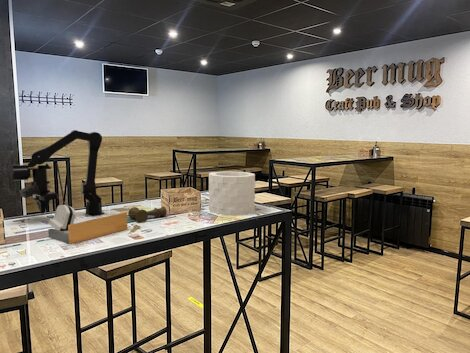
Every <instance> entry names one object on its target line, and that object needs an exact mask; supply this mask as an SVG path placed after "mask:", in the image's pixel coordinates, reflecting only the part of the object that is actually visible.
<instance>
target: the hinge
mask: <svg viewBox="0 0 470 353" xmlns="http://www.w3.org/2000/svg"><path fill="white" fill-rule="evenodd" d="M54 212H55V213H54V215H53V217H52V218H51V219H49V222H48V224H49V225H50V226H51V227H52V229H55V230H59V231H61V229H62V230H66V229H67V230H68V225H70V224H75V218H76V210H75V209H74V207H72V206H69V205H67V204H59V205H57V207H56V210H55V211H54Z"/></svg>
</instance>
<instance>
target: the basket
mask: <svg viewBox="0 0 470 353" xmlns="http://www.w3.org/2000/svg"><path fill="white" fill-rule="evenodd" d="M255 187H256V174H255V173H252V172H247V171H234V170H233V171H229V170H228V171H213V172H211V171H210V172H209V173H208V211H209V212H210V213H212V214H215V213H216V214H215V215H220V214H221V215H223V216H231V215H232V216H245V215H248V214H249V213H250V214H252V212H253V213H254V212H255V211H256V204H255V199H256V192H255ZM244 214H245V215H244ZM250 214H249V215H250Z"/></svg>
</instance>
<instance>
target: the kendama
mask: <svg viewBox="0 0 470 353" xmlns="http://www.w3.org/2000/svg"><path fill="white" fill-rule="evenodd" d="M148 216H150V217H151V216H153V217H155V218H158V217H163V218H164V217H166V216H167V208H166V207H165V206H161V207H159V208H157V207H154V208H153V209H152V210H148V211H147V210H145V209H139V208H138V207H135V206H134V207H131V208H129V210H128V212H127V218H128V217H129V218H130V219H131V220H135V221H136V222H137V223H139V224H140V223H146V222H147V220H148Z"/></svg>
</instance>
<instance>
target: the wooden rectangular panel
mask: <svg viewBox="0 0 470 353" xmlns="http://www.w3.org/2000/svg"><path fill="white" fill-rule="evenodd" d="M127 215H128V212H126V211H125V212H121V213H120V212H119V213H116V214H111V215H106V216H102V217H97V218H93V219H87V220H84V221H80V222H76V223H75V222H74V223H73V224H70V225H68V229H67V232H64V231H63V230H62V231H61V230H60V231H59V230H56V229H55V228H48V237H49V238H50V239H53V240H56V241H60V242H63V243H65V244H69V245H73V244H77V243H81V242H84V241H88V240H92V239H96V238H99V237H102V236H103V237H104V236H107V235H111V234H114V233H118V232H122V231H126V230H128V217H127Z"/></svg>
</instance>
